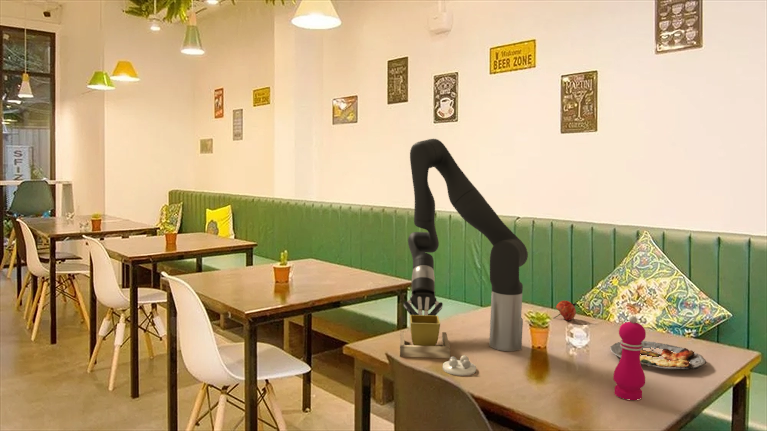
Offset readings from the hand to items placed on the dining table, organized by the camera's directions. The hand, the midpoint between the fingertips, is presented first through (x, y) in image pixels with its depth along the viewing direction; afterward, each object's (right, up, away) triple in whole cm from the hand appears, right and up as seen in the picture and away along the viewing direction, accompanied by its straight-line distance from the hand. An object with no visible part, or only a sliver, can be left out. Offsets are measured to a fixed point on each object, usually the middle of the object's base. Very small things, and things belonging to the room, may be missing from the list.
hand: (423, 329), depth 177 cm
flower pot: (0, -5, -4) cm, 6 cm away
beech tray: (0, -5, -5) cm, 7 cm away
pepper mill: (+48, -9, -37) cm, 61 cm away
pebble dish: (+8, -6, -21) cm, 24 cm away
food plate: (+68, -7, -9) cm, 69 cm away
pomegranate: (+54, -3, +32) cm, 63 cm away
